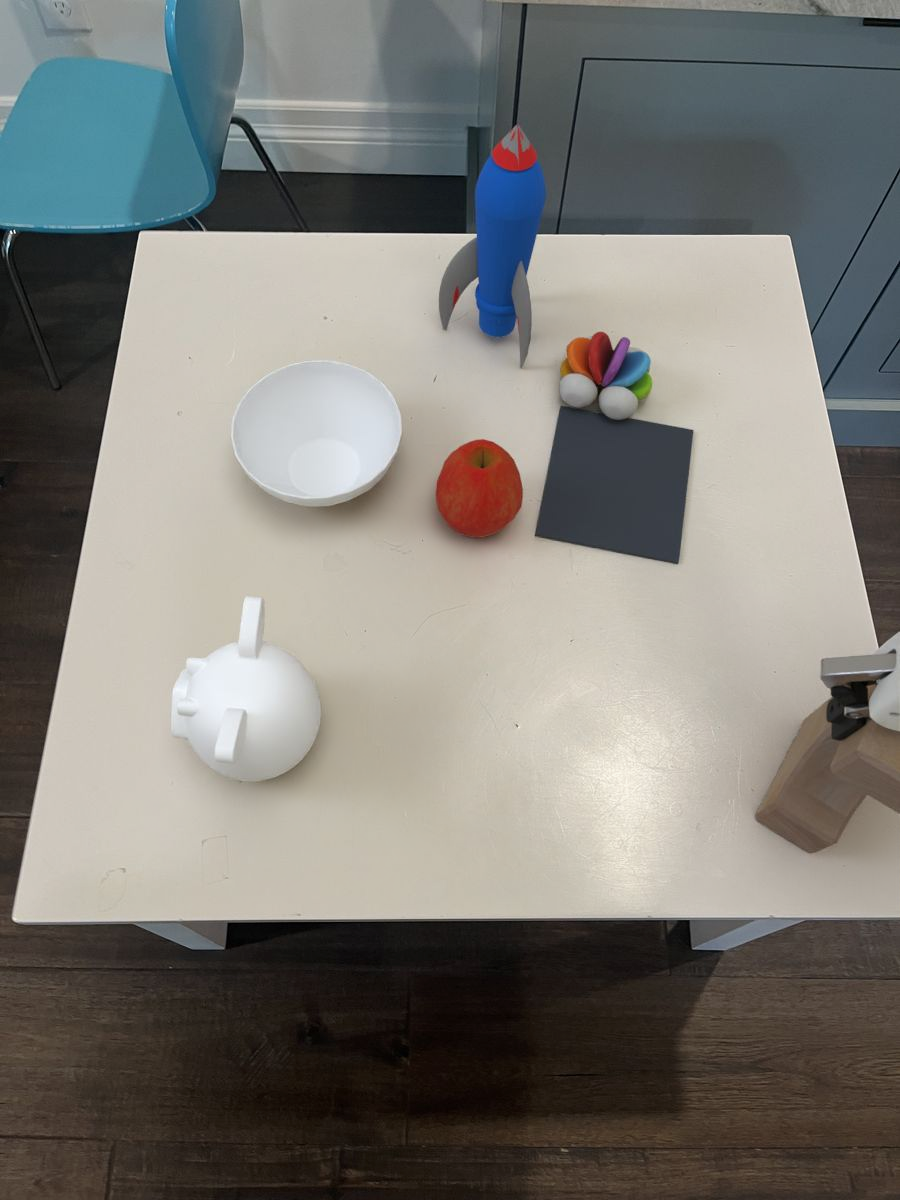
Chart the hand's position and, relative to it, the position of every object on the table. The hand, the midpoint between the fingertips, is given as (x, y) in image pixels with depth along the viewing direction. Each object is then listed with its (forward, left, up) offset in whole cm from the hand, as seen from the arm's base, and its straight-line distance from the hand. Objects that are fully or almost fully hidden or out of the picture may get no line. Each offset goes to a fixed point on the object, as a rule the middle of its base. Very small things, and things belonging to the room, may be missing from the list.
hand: (893, 731), depth 62 cm
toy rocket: (+37, -43, -16) cm, 59 cm away
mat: (+20, -27, -15) cm, 37 cm away
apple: (+33, -20, -16) cm, 42 cm away
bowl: (+49, -22, -16) cm, 56 cm away
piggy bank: (+47, +6, -16) cm, 50 cm away
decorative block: (0, 0, -16) cm, 16 cm away
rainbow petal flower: (+23, -38, -15) cm, 47 cm away
